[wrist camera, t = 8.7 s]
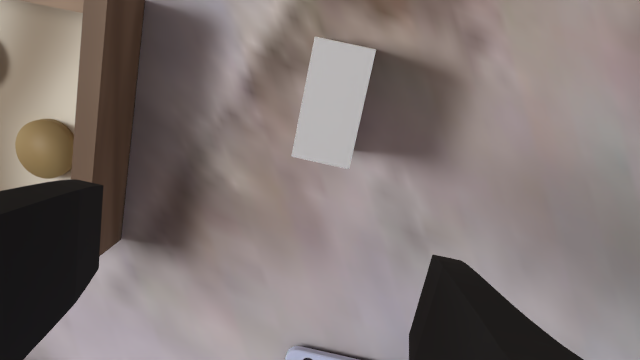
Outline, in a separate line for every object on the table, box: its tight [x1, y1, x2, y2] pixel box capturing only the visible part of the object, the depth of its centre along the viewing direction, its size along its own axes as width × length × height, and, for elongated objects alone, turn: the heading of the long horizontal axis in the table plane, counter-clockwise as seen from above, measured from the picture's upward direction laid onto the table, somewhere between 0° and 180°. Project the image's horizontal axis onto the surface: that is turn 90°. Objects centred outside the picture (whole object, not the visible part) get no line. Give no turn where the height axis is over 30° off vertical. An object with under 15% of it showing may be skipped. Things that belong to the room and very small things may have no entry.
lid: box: [292, 37, 376, 169], centre depth 20 cm, size 11×11×4 cm
